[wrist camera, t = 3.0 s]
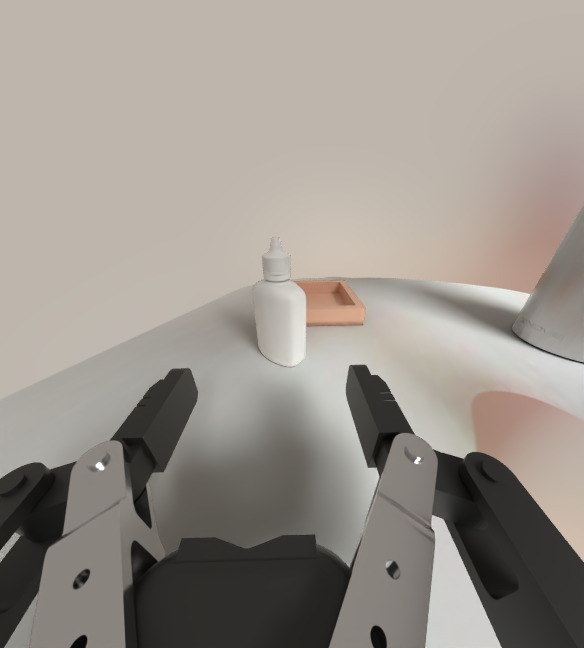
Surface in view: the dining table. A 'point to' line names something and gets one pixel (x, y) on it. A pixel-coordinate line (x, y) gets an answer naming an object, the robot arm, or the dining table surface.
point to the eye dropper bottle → (280, 310)
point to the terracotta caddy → (331, 303)
